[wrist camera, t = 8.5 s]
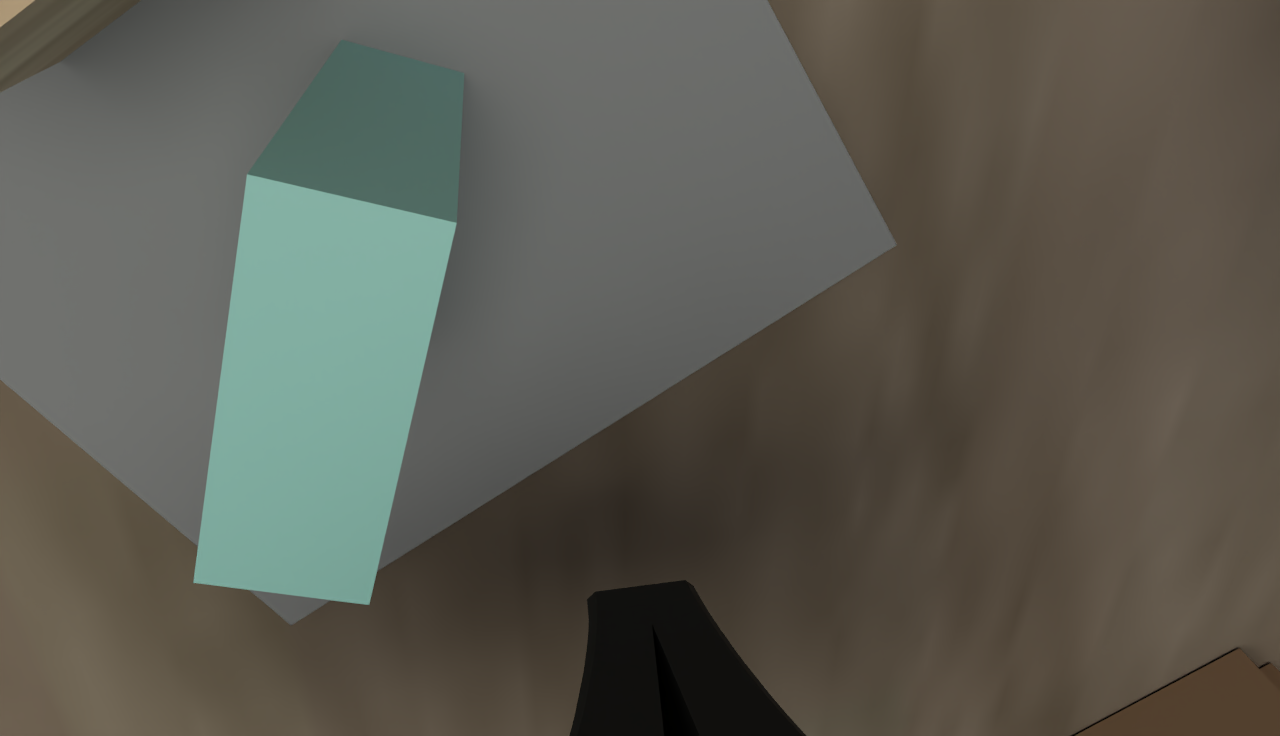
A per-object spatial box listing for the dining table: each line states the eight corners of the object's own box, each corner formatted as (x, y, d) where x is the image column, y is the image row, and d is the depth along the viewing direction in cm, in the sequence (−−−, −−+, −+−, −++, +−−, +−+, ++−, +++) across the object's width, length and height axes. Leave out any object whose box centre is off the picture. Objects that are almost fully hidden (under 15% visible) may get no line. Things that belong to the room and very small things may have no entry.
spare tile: (464, 73, 13) (456, 223, 8) (407, 336, 15) (368, 605, 9) (341, 39, 13) (247, 174, 7) (296, 313, 14) (193, 582, 9)
